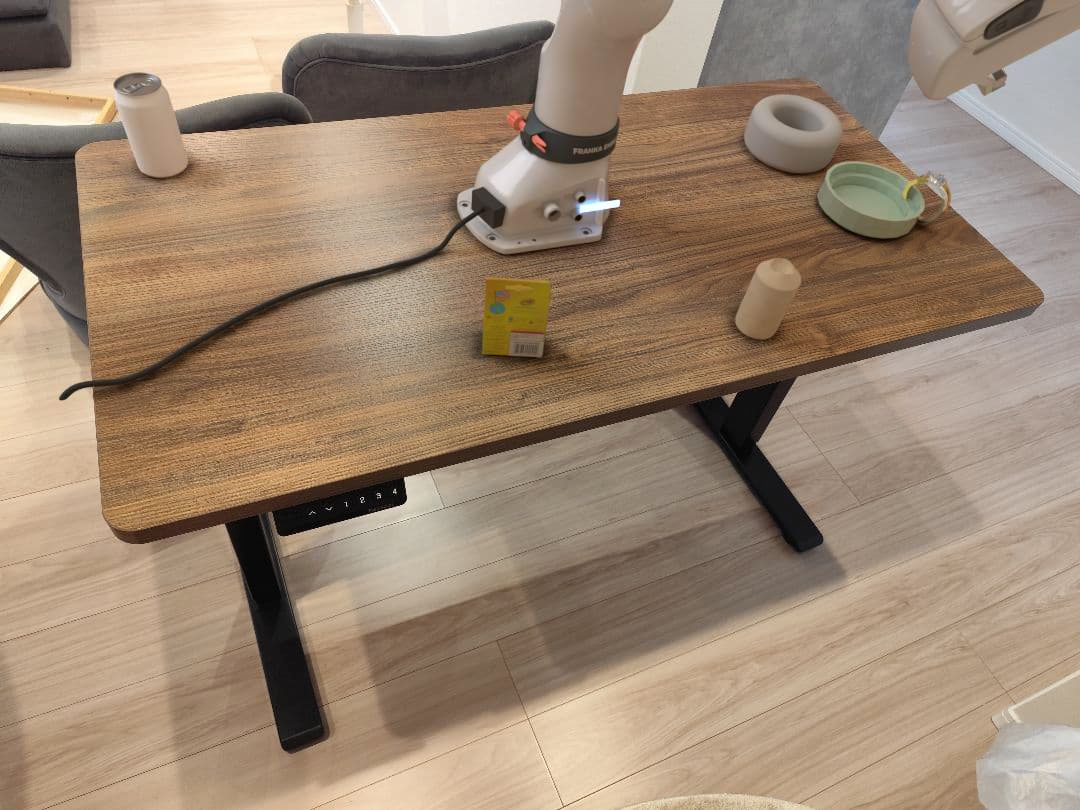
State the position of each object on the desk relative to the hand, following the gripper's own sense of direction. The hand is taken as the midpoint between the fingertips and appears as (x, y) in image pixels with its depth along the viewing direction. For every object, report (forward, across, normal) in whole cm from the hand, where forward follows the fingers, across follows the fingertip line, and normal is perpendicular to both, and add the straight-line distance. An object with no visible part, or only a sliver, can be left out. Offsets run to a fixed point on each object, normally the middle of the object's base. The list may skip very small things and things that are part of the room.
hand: (1057, 49), depth 55 cm
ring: (+62, +5, -14) cm, 64 cm away
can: (0, +92, -46) cm, 103 cm away
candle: (+34, +30, 0) cm, 45 cm away
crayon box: (+14, +56, -4) cm, 57 cm away
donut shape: (+60, +17, -35) cm, 72 cm away
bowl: (+58, +11, -18) cm, 62 cm away
